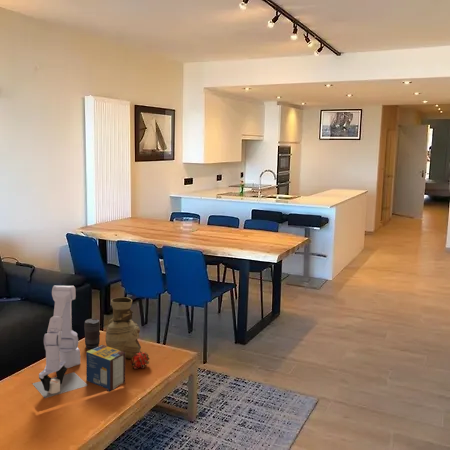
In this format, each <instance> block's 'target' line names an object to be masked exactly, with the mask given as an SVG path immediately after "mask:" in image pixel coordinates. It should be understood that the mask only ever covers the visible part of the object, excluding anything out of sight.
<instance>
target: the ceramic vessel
mask: <svg viewBox="0 0 450 450" xmlns="http://www.w3.org/2000/svg"><path fill="white" fill-rule="evenodd" d="M110 304H111V307H112V318H110V320H109V321H108V322H107V323H108V325H107V328H106V331H105V346H108V347H111V348H114V349H117V350H120V351H123V352H125V360H126V359H128V360H132V357H133V356H134V355H135V353H139V352H140V351H141V348H142V347H141V346H142V345H141V344H140V341H139V340H138V339H139V338H140V332H141V329H140V327H139V325H138V324H137V323H138V322H137V321H133V320H132V319H133V313H134V311H133V310H132V309H131V307H132V304H133V299H131V298H130V297H123V296H121V297H120V296H119V297H115V298H111V300H110Z"/></svg>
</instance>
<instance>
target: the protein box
mask: <svg viewBox="0 0 450 450" xmlns="http://www.w3.org/2000/svg"><path fill="white" fill-rule="evenodd" d="M85 357H86V366H85V367H86V381H87V382H89V383H91V384H94V385H96V386H99V387H102V388H104V389H106V391H107V392H112V391H115V389H118V388H119V387H120V385H125V384H126V359H125V352H123V351H120V350H117V349H114V348H111V347H108V346H107V345H106V344H101V345H100V344H99V346H98V347H96V348H94V349H88V350H87V351H86V355H85Z"/></svg>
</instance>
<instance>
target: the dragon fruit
mask: <svg viewBox="0 0 450 450" xmlns="http://www.w3.org/2000/svg"><path fill="white" fill-rule="evenodd" d="M130 364H131V366H132V367H133V369H136V370H137V369H139V368H141V369H144V368H146V365H149V364H150V357H149V354H148V353H147V352H146V351H144V352H143V351H141V350H140V352H139V353H135V355H134V356H133V357H132V359H130Z"/></svg>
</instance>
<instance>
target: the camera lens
mask: <svg viewBox="0 0 450 450" xmlns="http://www.w3.org/2000/svg"><path fill="white" fill-rule="evenodd" d="M100 324H101V323H100V320H99V319H98V318H88V319H86V320H85V321H84V324H83V325H84V344H85V349H87V350H91V349H94V348H96V347H98V346H100V339H101V337H100V335H101V332H100V331H101V325H100Z"/></svg>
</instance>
